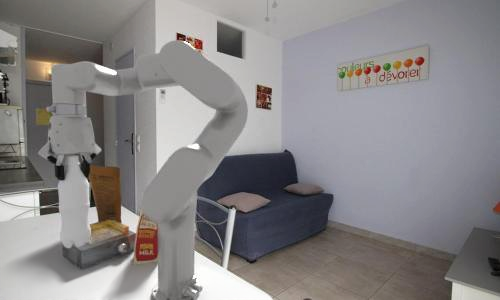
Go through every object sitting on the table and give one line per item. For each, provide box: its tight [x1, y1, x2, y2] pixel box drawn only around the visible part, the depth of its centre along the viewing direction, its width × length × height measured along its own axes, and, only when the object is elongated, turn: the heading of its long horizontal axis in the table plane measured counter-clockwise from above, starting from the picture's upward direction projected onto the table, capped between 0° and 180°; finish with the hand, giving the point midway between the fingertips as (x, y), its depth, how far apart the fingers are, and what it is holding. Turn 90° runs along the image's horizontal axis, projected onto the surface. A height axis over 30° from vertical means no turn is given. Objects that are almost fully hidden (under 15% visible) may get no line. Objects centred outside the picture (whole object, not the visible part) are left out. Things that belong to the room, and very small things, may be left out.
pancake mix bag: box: [88, 164, 123, 224], centre depth 113 cm, size 7×19×28 cm, turn 63°
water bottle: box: [57, 154, 91, 248], centre depth 73 cm, size 7×7×25 cm
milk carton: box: [133, 199, 158, 265], centre depth 90 cm, size 9×9×20 cm
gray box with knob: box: [61, 219, 136, 270], centre depth 92 cm, size 18×18×9 cm
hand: (73, 177), depth 73 cm, fingers closed on water bottle, 5 cm apart
